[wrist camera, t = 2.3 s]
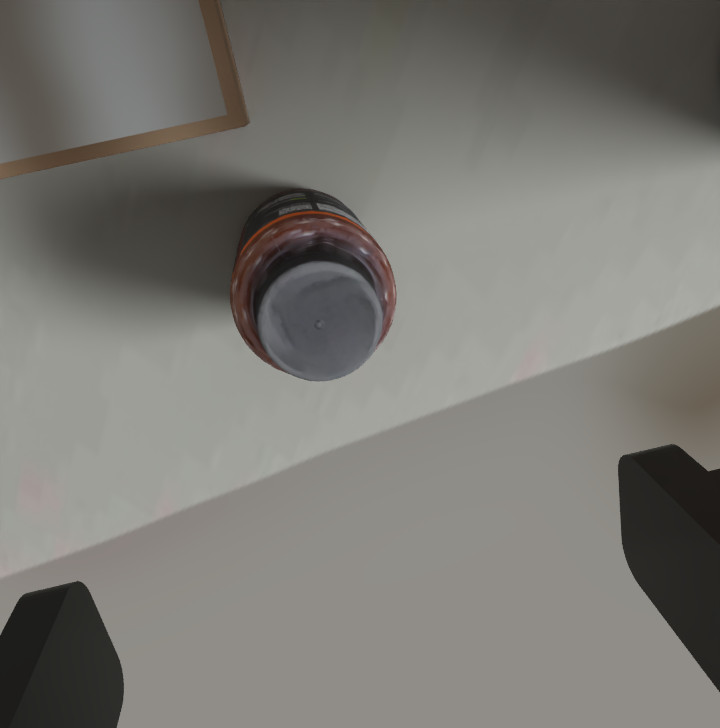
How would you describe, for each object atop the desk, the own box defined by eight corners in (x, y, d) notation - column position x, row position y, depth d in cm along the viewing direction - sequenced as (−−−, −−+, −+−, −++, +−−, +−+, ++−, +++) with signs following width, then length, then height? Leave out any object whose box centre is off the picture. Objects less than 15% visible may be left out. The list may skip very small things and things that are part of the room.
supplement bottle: (299, 336, 33) (310, 446, 22) (211, 246, 31) (179, 321, 20) (392, 256, 32) (449, 330, 21) (308, 157, 30) (326, 187, 19)
